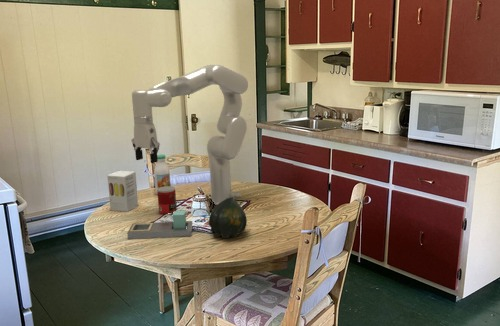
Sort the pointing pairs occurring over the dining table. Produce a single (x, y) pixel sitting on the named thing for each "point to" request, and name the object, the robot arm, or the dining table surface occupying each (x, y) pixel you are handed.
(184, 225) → the peg
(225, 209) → the squash
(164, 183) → the milk bottle
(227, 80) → the robot arm
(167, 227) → the grey peg hole board
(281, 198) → the dining table surface
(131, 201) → the supplement box
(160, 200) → the canned food
